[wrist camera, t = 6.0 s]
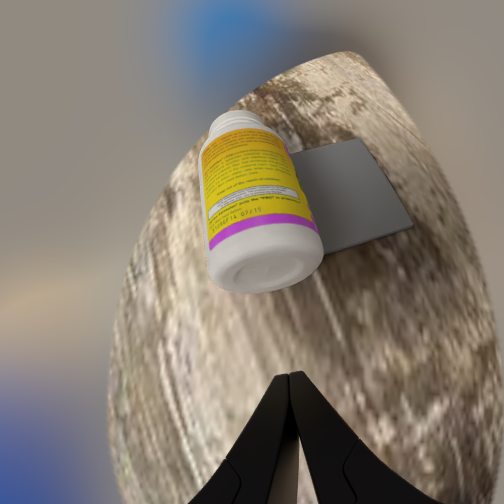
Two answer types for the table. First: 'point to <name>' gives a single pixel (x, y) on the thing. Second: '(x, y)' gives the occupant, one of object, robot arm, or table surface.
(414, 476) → the table surface
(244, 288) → the supplement bottle
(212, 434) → the table surface
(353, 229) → the mat
